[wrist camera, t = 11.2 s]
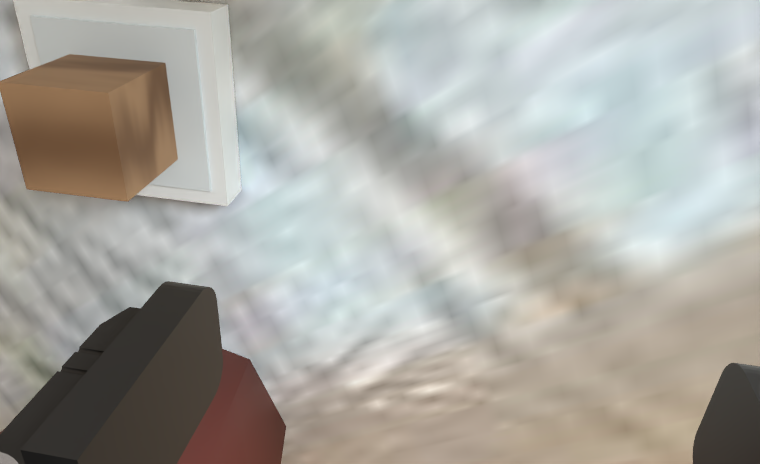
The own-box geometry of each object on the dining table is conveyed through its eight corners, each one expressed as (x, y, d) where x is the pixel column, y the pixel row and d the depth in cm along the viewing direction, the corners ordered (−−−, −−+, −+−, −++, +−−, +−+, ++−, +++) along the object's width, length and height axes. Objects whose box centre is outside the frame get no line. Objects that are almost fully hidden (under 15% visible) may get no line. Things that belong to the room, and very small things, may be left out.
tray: (40, -11, 37) (9, -4, 35) (228, 4, 36) (209, 12, 34) (78, 170, 43) (55, 186, 41) (241, 189, 42) (226, 207, 40)
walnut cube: (69, 54, 36) (-3, 82, 31) (165, 62, 35) (108, 92, 30) (89, 149, 39) (26, 189, 34) (178, 159, 38) (127, 201, 33)
